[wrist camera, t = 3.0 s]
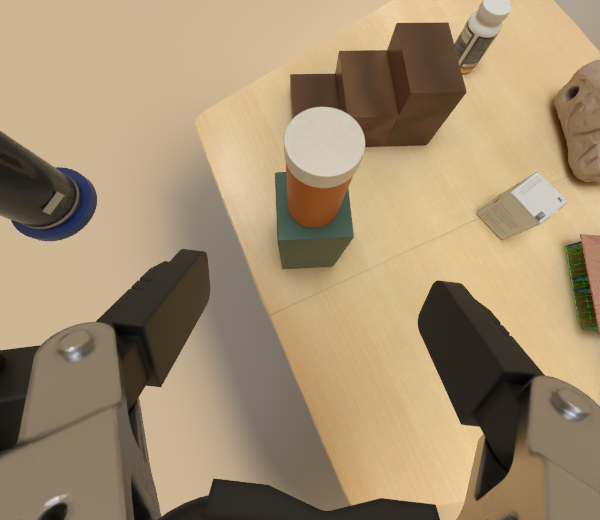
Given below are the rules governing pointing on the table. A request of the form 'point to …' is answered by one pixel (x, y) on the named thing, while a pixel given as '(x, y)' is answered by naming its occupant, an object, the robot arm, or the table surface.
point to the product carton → (522, 207)
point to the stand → (310, 234)
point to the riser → (391, 86)
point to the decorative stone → (582, 121)
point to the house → (589, 273)
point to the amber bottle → (320, 163)
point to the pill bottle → (480, 32)
